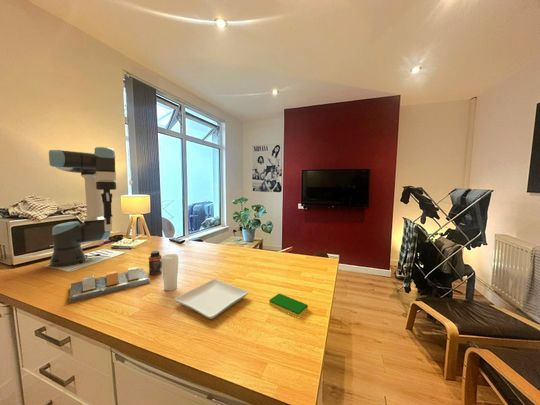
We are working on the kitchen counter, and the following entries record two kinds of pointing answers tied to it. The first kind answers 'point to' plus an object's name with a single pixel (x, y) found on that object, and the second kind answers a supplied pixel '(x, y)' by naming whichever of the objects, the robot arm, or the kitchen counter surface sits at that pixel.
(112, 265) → the kitchen counter surface
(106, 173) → the robot arm
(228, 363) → the kitchen counter surface
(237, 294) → the salad plate
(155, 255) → the supplement bottle
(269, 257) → the kitchen counter surface
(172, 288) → the white tumbler
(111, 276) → the toggle
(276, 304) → the dish sponge
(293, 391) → the kitchen counter surface
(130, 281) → the panel
